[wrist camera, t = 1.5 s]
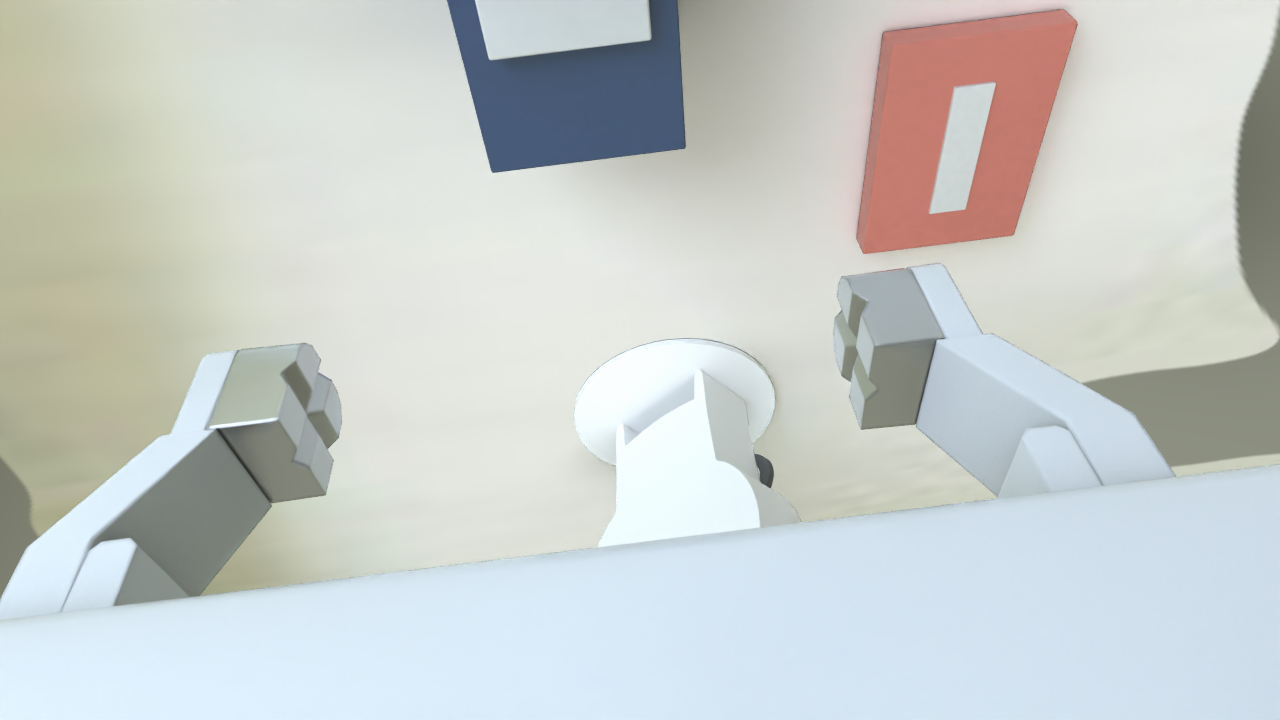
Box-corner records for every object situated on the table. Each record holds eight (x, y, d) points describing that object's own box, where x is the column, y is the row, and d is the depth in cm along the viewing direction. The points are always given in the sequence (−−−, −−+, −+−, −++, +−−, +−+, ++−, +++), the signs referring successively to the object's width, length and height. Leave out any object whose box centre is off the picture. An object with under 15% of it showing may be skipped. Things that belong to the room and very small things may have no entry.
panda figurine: (661, 496, 52) (691, 739, 42) (524, 424, 46) (519, 689, 36) (813, 402, 47) (890, 656, 36) (681, 305, 40) (729, 578, 30)
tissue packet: (882, 31, 31) (893, 47, 30) (1065, 8, 31) (1081, 23, 30) (855, 239, 38) (863, 257, 37) (1003, 220, 38) (1015, 238, 37)
